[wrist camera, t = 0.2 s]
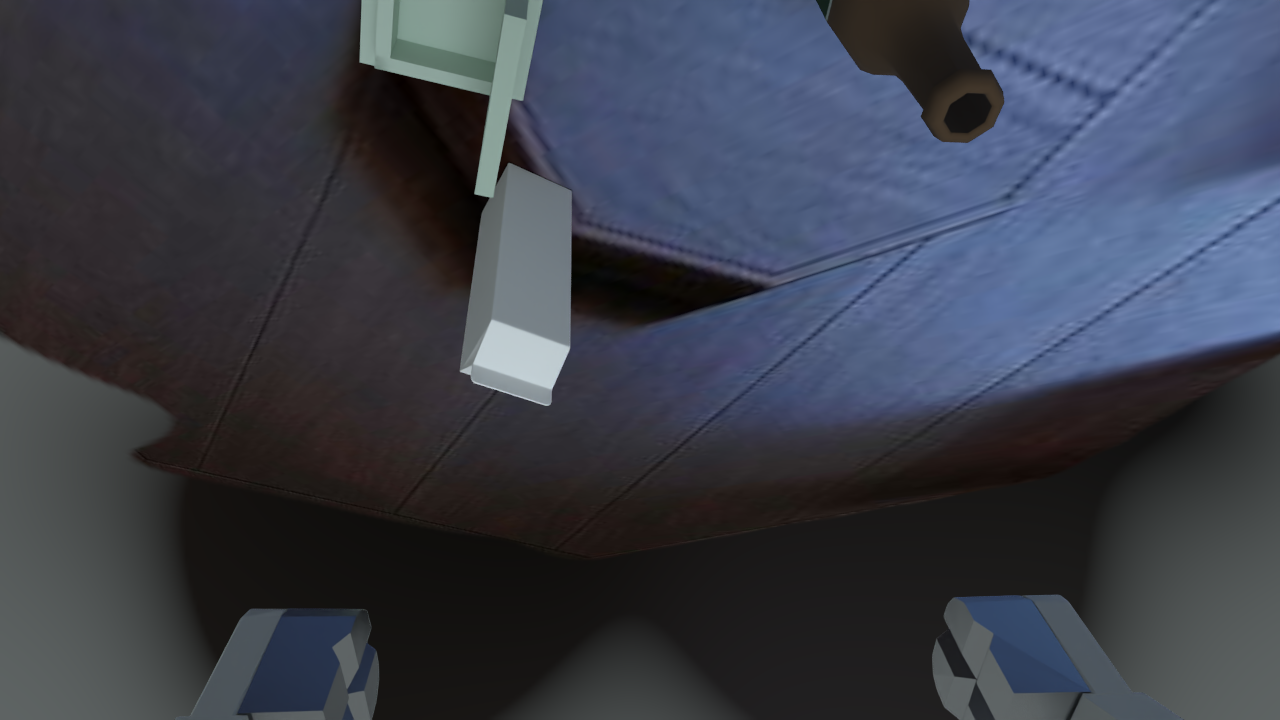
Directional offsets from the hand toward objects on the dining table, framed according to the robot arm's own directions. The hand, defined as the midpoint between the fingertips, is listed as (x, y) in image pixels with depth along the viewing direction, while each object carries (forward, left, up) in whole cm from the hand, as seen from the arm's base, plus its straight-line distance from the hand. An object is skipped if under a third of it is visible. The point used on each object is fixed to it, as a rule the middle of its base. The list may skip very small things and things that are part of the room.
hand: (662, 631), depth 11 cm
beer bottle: (-5, +18, -52) cm, 55 cm away
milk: (+27, +14, -52) cm, 60 cm away
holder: (+16, 0, -52) cm, 54 cm away
